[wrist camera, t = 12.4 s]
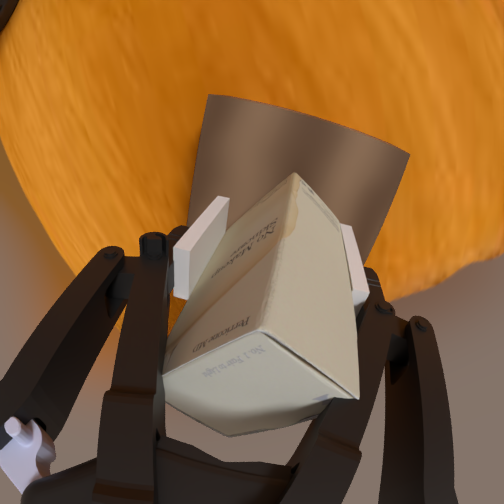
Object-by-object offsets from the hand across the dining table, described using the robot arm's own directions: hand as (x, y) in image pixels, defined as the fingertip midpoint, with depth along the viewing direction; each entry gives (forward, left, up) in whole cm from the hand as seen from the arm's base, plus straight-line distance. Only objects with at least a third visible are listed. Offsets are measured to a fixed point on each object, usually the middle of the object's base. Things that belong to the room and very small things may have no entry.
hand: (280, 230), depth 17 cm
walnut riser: (0, 0, -8) cm, 8 cm away
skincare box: (0, 0, -1) cm, 1 cm away
